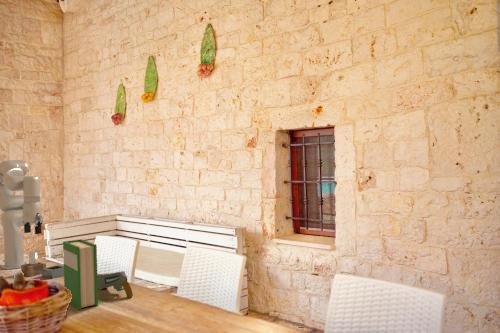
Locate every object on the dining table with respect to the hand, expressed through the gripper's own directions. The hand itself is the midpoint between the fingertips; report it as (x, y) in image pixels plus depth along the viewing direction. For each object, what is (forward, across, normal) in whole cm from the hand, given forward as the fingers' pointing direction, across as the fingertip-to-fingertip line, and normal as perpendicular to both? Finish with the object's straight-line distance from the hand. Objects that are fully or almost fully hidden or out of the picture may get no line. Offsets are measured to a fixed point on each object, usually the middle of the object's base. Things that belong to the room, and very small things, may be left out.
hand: (32, 233), depth 220 cm
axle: (+21, 0, 0) cm, 21 cm away
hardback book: (+22, +64, -18) cm, 70 cm away
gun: (+22, +64, -2) cm, 67 cm away
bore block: (+21, 0, 0) cm, 21 cm away
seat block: (+21, +14, +3) cm, 25 cm away
